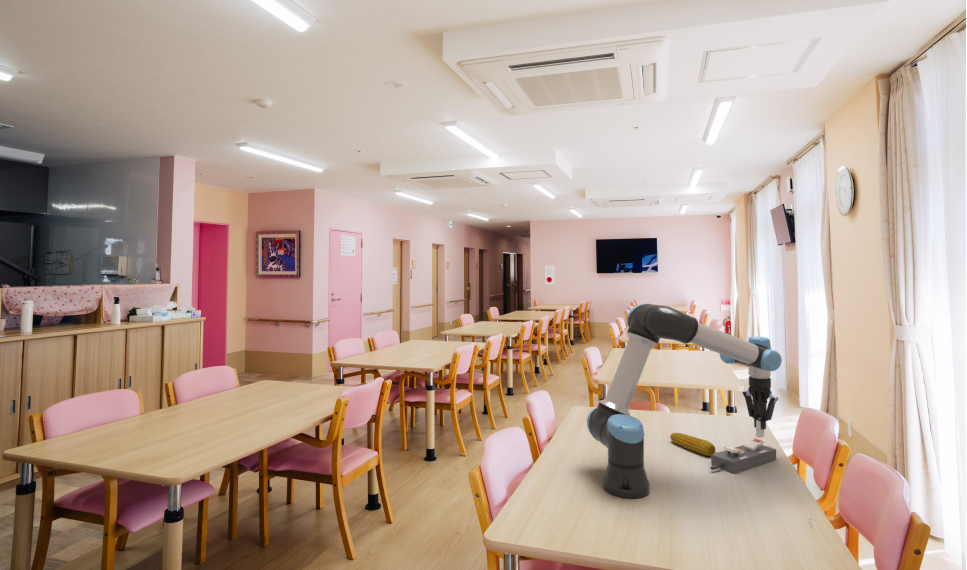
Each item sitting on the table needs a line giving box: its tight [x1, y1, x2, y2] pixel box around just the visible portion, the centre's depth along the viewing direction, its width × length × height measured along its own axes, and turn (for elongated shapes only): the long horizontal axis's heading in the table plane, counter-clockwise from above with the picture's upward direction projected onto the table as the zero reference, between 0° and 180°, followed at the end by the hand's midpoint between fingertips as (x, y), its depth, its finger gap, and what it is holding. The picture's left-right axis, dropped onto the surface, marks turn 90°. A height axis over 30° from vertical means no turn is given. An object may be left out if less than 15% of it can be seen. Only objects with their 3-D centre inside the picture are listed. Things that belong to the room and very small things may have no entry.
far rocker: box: [743, 438, 764, 451], centre depth 182 cm, size 7×4×1 cm, turn 118°
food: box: [669, 432, 716, 457], centre depth 194 cm, size 21×6×6 cm, turn 26°
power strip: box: [709, 443, 777, 474], centre depth 178 cm, size 32×9×5 cm, turn 118°
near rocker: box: [723, 446, 744, 454], centre depth 177 cm, size 7×4×1 cm, turn 118°
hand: (760, 436), depth 184 cm, fingers closed
